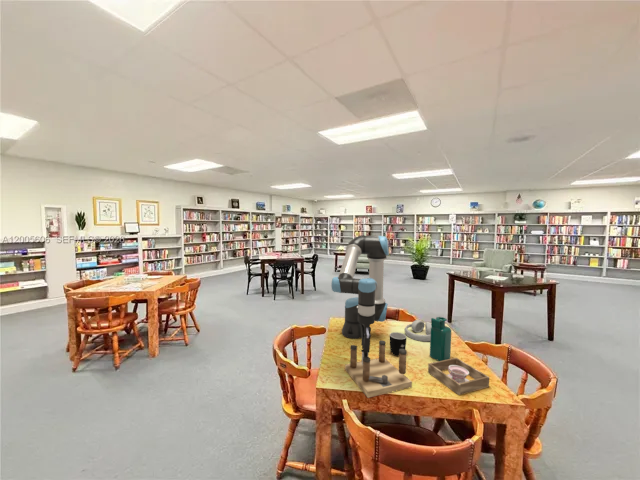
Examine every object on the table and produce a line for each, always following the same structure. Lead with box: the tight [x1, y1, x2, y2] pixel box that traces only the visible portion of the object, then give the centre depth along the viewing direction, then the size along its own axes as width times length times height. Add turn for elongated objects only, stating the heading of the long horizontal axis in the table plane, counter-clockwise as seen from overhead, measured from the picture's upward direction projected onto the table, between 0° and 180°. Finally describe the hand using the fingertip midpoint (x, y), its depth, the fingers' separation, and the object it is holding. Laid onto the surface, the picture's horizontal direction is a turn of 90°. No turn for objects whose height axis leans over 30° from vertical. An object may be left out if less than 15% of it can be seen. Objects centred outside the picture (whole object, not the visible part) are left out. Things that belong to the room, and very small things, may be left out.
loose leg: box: [398, 348, 408, 375], centre depth 115 cm, size 3×3×10 cm
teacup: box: [447, 365, 470, 383], centre depth 117 cm, size 12×12×6 cm
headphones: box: [404, 319, 432, 342], centre depth 167 cm, size 18×8×20 cm
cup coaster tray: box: [427, 357, 490, 396], centre depth 120 cm, size 18×18×4 cm
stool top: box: [344, 339, 413, 399], centre depth 120 cm, size 22×22×12 cm
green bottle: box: [429, 316, 452, 362], centre depth 138 cm, size 10×8×22 cm
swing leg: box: [363, 356, 388, 384], centre depth 113 cm, size 11×3×10 cm, turn 77°
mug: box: [389, 331, 407, 357], centre depth 144 cm, size 12×9×10 cm
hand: (364, 364), depth 118 cm, fingers closed
